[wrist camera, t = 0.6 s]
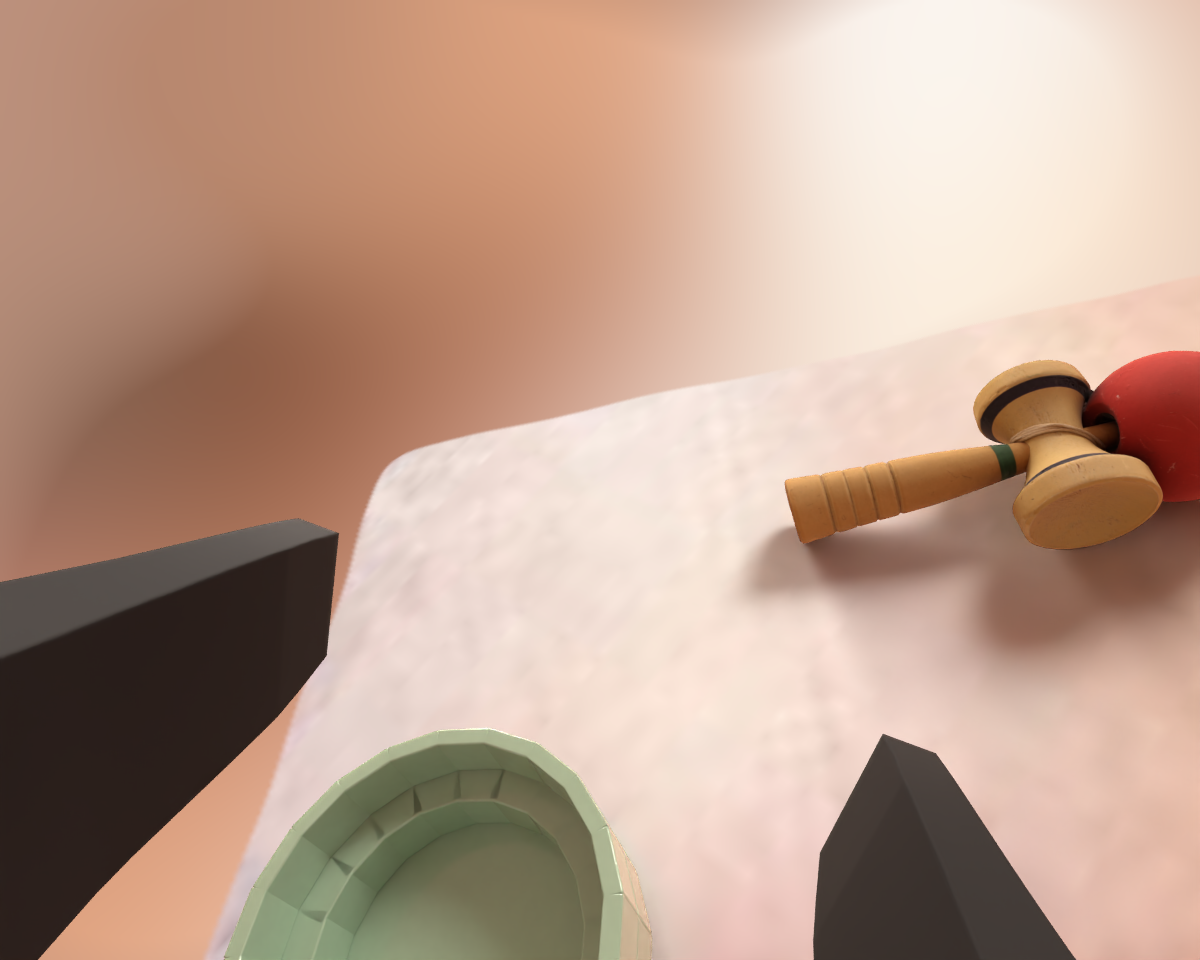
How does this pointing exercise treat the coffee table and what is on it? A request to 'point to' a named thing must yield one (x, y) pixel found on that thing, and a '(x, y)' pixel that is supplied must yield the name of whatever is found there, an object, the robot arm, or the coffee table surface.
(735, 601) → the coffee table surface
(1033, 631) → the coffee table surface
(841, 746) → the coffee table surface
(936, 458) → the kendama
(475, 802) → the bowl
